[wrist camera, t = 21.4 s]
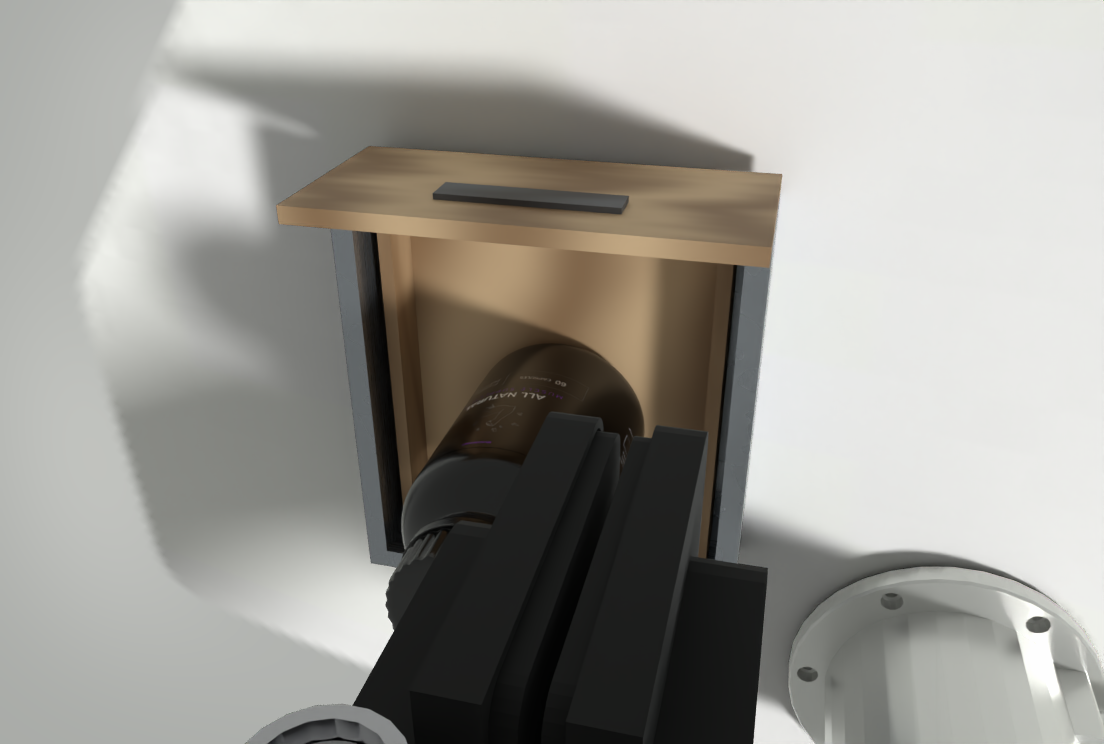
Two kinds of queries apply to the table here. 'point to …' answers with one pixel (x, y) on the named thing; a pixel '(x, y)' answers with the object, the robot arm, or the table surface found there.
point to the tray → (550, 276)
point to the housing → (377, 412)
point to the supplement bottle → (503, 447)
